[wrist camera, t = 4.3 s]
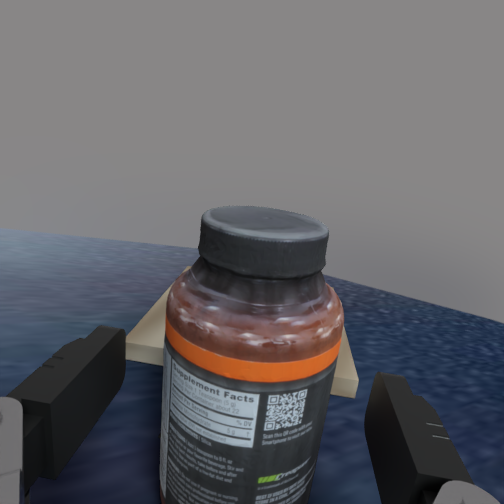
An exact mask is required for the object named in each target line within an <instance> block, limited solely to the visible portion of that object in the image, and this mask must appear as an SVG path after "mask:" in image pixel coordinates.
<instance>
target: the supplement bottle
mask: <svg viewBox="0 0 504 504" xmlns="http://www.w3.org/2000/svg"><path fill="white" fill-rule="evenodd" d="M200 230H201V234H200V242H199V246H198V250H199V254H200V257H199V258H198V260H197V261H196V262H195V263H194V264H193V266H192V267H191V268H190V269H188V270H187V271H185V272H183V273H182V274H181V275H180V276H179V277H178V278H177V279H176V280H175V281H174V283H173V285H172V286H171V289H170V291H169V294H168V297H167V303H166V319H165V337H164V348H163V350H164V351H163V384H162V419H161V433H160V434H159V436H158V438H160V437H161V447H160V496H161V502H162V504H307V503H308V499H309V495H310V490H311V486H312V481H313V476H314V472H315V466H316V462H317V456H318V451H319V447H320V441H321V436H322V432H323V427H324V422H325V417H326V412H327V408H328V403H329V398H330V393H331V388H332V384H333V379H334V374H335V369H336V364H337V359H338V353H339V349H340V344H341V338H342V331H343V325H344V314H343V308H342V304H341V301H340V299H339V297H338V296H337V294H336V293H335V292H334V291H333V289H332V288H331V287H330V286H329V285H328V284H327V283H325V280H324V277H323V274H322V272H321V270H322V269H323V268H324V266H325V265H326V262H325V255H326V248H327V242H328V237H329V230H328V228H327V226H326V225H324V224H323V223H322V222H320V221H319V220H317V219H314V218H312V217H309V216H306V215H301V214H297V213H294V212H289V211H284V210H279V209H273V208H266V207H255V206H225V207H218V208H213V209H210V210H208V211H206V212H205V213H204V214H203V215H202V219H201V229H200Z"/></svg>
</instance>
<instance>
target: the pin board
mask: <svg viewBox="0 0 504 504" xmlns="http://www.w3.org/2000/svg"><path fill="white" fill-rule="evenodd" d="M190 268H191V267H190V266H188V267H187V268H186V269H185V270H184V271H183V272H185V271H187V270H188V269H190ZM183 272H182V273H183ZM172 285H173V284H172ZM172 285H171V286H172ZM171 286H170V287H169V288H168V290H167V291H166V292H165V293H164V294H163V295H162V296H161V298H160V299H159V300H158V301H157V302H156V303H155V305H154V306H153V307H152V308H151V309H150V310H149V311H148V313H147V314H146V315H145V316H144V317H143V318H142V319H141V321H140V322H139V323H138V324H137V325H136V326H135V327H134V329H133V330H132V331H131V332H130V333H129V334H128V335H127V337H126V360H132V361H138V362H144V363H150V364H156V365H161V366H163V351H164V350H163V348H164V337H165V319H166V303H167V297H168V294H169V291H170V289H171ZM331 288H332V287H331ZM332 289H333V288H332ZM333 291H334V289H333ZM358 382H359V380H358V376H357V373H356V369H355V365H354V362H353V358H352V354H351V351H350V347H349V343H348V340H347V336H346V332H345V329H344V325H343V331H342V338H341V344H340V349H339V353H338V359H337V364H336V369H335V374H334V379H333V384H332V388H331V393H330V394H332V395H338V396H344V397H350V398H355V394H356V390H357V386H358Z"/></svg>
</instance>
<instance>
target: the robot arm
mask: <svg viewBox="0 0 504 504" xmlns="http://www.w3.org/2000/svg"><path fill="white" fill-rule="evenodd" d="M125 367H126V333H125V330H124V329H120V328H114V327H108V326H102V325H101V326H98V327H97V328H96V329H95V330H94V331H93V332H92V333H91V334H90V335H88V336H87V337H86V338H85V339H83V338H79V339H77V340H75V341H73V342H70V343H68V344H66V345H64V346H63V347H62V348H61V349H59V350H58V351H57V352H56V353H55V354H54V355H53V356H52V358H49V359H48V360H47V361H46V362H45V363H43V365H42V367H39V368H38V369H37V370H35V371H34V372H33V373H32V374H31V375H30V376H29V377H27V378H26V379H25V380H24V381H23V382H22V383H21V384H20V385H18V386H17V387H16V388H15V389H14V390H13V391H12V392H10V393H9V394H8V395H7V396H6V397H0V504H31V493H30V487H31V486H32V485H33V483H34V482H35V481H36V479H37V478H38V477H43V478H48V479H53V480H56V478H57V477H58V475H59V474H60V473H61V471H62V470H63V468H64V467H65V466H66V464H67V463H68V461H69V460H70V459H71V457H72V456H73V454H74V453H75V452H76V450H77V449H78V447H79V446H80V445H81V443H82V442H83V440H84V439H85V438H86V436H87V435H88V433H89V432H90V431H91V429H92V428H93V426H94V425H95V423H96V422H97V421H98V419H99V418H100V416H101V415H102V414H103V412H104V411H105V409H106V408H107V407H108V405H109V404H110V402H111V401H112V400H113V398H114V397H115V395H116V394H117V393H118V391H119V390H120V388H121V386H122V383H123V380H124V376H125ZM364 428H365V436H366V440H367V445H368V449H369V453H370V457H371V461H372V465H373V470H374V474H375V478H376V482H377V486H378V490H379V494H380V499H381V503H382V504H500V503H499V502H498V501H497V500H496V499H495V498H494V497H492V496H491V495H490V494H488V493H487V492H486V491H484V490H482V489H481V488H479V487H477V486H475V485H474V483H473V481H472V479H471V477H470V475H469V473H468V472H467V470H466V468H465V466H464V464H463V462H462V460H461V458H460V456H459V454H458V453H457V451H456V449H455V447H454V445H453V443H452V441H451V440H449V435H448V433H447V432H446V430H445V428H443V424H442V422H441V420H440V418H439V416H438V414H437V413H436V411H435V409H434V408H433V407H432V406H431V405H430V404H429V403H428V402H427V401H426V400H425V399H424V398H423V397H422V396H416V395H413V393H412V391H411V389H410V387H409V385H408V383H407V381H406V379H405V377H404V376H400V375H394V374H388V373H382V372H378V373H377V374H376V376H375V378H374V382H373V386H372V390H371V394H370V398H369V402H368V405H367V409H366V414H365V422H364Z"/></svg>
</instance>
